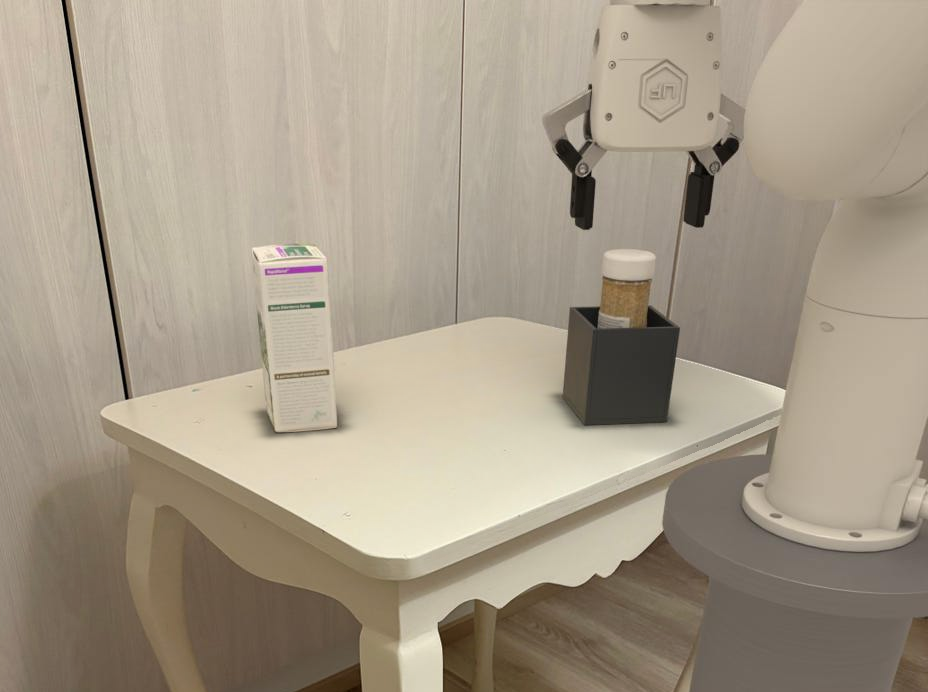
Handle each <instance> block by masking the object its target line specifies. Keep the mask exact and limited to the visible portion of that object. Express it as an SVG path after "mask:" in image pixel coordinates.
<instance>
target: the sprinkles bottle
mask: <svg viewBox="0 0 928 692" xmlns="http://www.w3.org/2000/svg"><path fill="white" fill-rule="evenodd" d="M656 261H657V256H656V255H655V254H654V253H653V252H651V251H647V250H642V249H634V248H615V249H609V250H606V251H605V252H604V253H603V255H602V263H601V275H602V278H601V280H602V285H601V292H600V293H601V295H600V305H599V306H600V310H599V317H598V327H597V329H599V328H640V327H646V325H647V311H648V305H649V304H650V303H649V302H650V293H651V284H652V282H653V278H654V277H655V272H656Z"/></svg>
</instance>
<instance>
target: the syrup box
mask: <svg viewBox="0 0 928 692" xmlns="http://www.w3.org/2000/svg"><path fill="white" fill-rule="evenodd" d="M251 260H252V272H253V283H254V293H255V305H256V306H255V307H256V315H257V323H258V334H259V345H260V356H261V357H260V358H261V367H262V378H263V379H262V380H263V389H264V398H265V408H266V413H267V416H268V418H269V421H270V423H271V425H272V428H273V430H274V432H275V433H297V432H298V433H299V432H310V431H319V430H328V429H329V430H330V429H336V428H338V413H337V410H338V409H337V392H336V391H337V390H336V374H335V358H334V357H335V355H334V341H333V340H334V339H333V324H332V314H331V297H330V284H329V283H330V282H329V267H328V266H329V264H328V258H327V257H326V256H325V255H324V254H323V252H322V251H321V250H320V249H319V248H318V247H317V245H315V244H312V243H311V244H310V243H281V244H270V245H263V246H256V247H255V246H253V247H251Z"/></svg>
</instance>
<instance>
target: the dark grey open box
mask: <svg viewBox="0 0 928 692" xmlns="http://www.w3.org/2000/svg"><path fill="white" fill-rule="evenodd" d="M599 310H600V305H598V306H597V305H596V306H570V307H569V312H568V313H569V314H568V325H567V336H566V337H567V339H566V351H565V364H564V376H563V387H562V399H564V401H565V403H567V405H568V406H569V408H570V409H571V410H572V411H573V412H574V414H575V415H576V416H577V418H578V419H579V420H580V422H581V423H582V424H583V425H584V426H595V425H596V426H597V425H620V424H621V425H622V424H623V425H624V424H626V425H627V424H647V423H651V424H652V423H667V422H668V416H669V410H670V402H671V395H672V390H673V380H674V374H675V368H676V360H677V354H678V353H677V352H678V346H679V341H680V340H679V338H680V332H681V327H680V326H679V325H677V324H676V323H674V321H672V320H671V319H670V318H668V317H667V316H665V315H664V314H663V313H662V312H661V311H659V310H658V309H656V308H655V307H654V306H653V305H649V304H648V311H647V325H646V327H640V328H599V329H597V327H598V317H599Z"/></svg>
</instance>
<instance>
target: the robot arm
mask: <svg viewBox="0 0 928 692" xmlns="http://www.w3.org/2000/svg"><path fill="white" fill-rule="evenodd" d="M722 23H723V22H722V10H721V5H711V0H609V4H608V5H602V6H601V9H600V12H599V17H598V21H597V25H596V29H595V34H594V38H593V44H592V50H591V55H590V59H589V60H590V61H589V68H588V74H587V80H586V88H585V90H584V91H581V92H580V93H579V94H577V95H575V96H573V97H571V98H570V99H568V100H566V101H565V102H563V103H562V104H560V105H558V106H556V107H555V108H553V109H551V110H549V111H548V112H546V113H545V114H543V116H542V118H541V123H542V126H543V128H544V130H545V133H546V136H547V138H548V140H549V143H550V145H551V149H552V151H553V153H554V154H555V156H556V157H557V158H558V159H559V160H560V161H561V162H562V164H563V165H564V166H565V167H566V169H567V171H568V172H569V174H571V186H570V187H571V188H570V202H569V216H570V218H572V219H574V225H575V226H576V227H577V228H578V229H580V230H582V231H590V230H591V229H593V227H594V225H593V224H594V212H595V198H596V184H597V180H596V178H595V177H594V176H592V173H593V169H594V168H595V166H596V165H598V163H599V162H600V160H601V159H602V158H603V156H604V155H605V154H606V153H607V152H608V151H609V152H619V153H651V152H652V153H654V152H659V153H660V152H663V153H664V152H666V153H667V152H685V153H686V154H687V156H688V157H689V159H690V161H691V163H692V164H693V165H694V168H693V171H690V173H689V174H688V176H687V183H686V190H685V191H686V192H685V201H684V210H683V220H682V221H683V222H684V223H685V224H686V225H689V226H691V227H694V228H696V229H698V228H699V229H701V228H704V226H705V222H706V220H705V219H706V217H707V216H709V214H710V212H711V208H712V200H713V191H714V182H715V176H717V175H719V174H720V172H721V171H722V168H723V166H724V165H725V164H727V162H729V160H730V159H732V157H733V156H734V155H735V154H737V152H738V151H739V150H740V149H739V148H740V145H741V142H742V141H743V142H744V143H743V144H744V149H745V155H746V157H747V161H748V163H749V166H750V167H751V169H752V171H753V173H754V174H755V176H756V177H757V178H758V179H759V180H760V182H761V183H762V184H763V185H764V186H765V187H767V188H768V189H770V190H771V191H773V192H774V193H776V194H778V195H780V196H782V197H784V198H788V199H791V200H794V201H795V200H796V201H802V202H836V201H837V202H839V201H840V202H839V204H838V205H837V207H836V209H835V211H834V212H833V214H832V216H831V218H830V219H829V222H828V224H827V226H826V228H825V230H824V231H823V233H822V236H821V238H820V241H819V244H818V246H817V248H816V251H815V255H814V258H813V261H812V263H811V268H810V273H809V278H808V282H807V287H806V291H805V295H804V299H803V304H802V309H801V313H800V319H799V324H798V329H797V333H796V338H795V343H794V347H793V354H792V358H791V363H790V367H789V372H788V377H787V382H786V387H785V393H784V397H783V401H782V407H781V411H780V417H779V422H778V426H777V427H778V428H777V432H776V436H775V442H774V446H773V452H772V454H773V456H772V460H771V465H770V470H769V473H766V474H763V475H761V476H758V477H756V478H754V479H753V480H751V481H750V482H748V484H747V485H746V486H745V488H744V492H743V497H742V508H743V510H744V511H745V513H746V515H747V516H748V517H749V518H750V519H751V520H752V521H753V522H754V523H756V524H757V525H759V526H760V527H761V528H763V529H765V530H767V531H769V532H771V533H773V534H774V535H777V536H779V537H782V538H784V539H787V540H789V541H793V542H796V543H800V544H803V545H806V546H811V547H816V548H821V549H826V550H834V551H842V552H877V551H884V550H890V549H894V548H897V547H901V546H903V545H905V544H907V543H909V542H911V541H912V540H913V539H914V538H915V537H916V536H917V535H918V533H919V530H920V527H921V524H922V519H926V520H928V484H926V482H928V481H927V480H928V479H925V478H921V477H920V474H921V470H922V467H923V463H924V461H923V460H919V459H917V456H918V452H919V449H920V445H921V443H922V439H923V435H924V431H925V428H926V424H927V421H928V0H802V2H800V4H799V5H798V7H797V8H796V10H795V11H794V13H793V14H792V15H791V17H790V18H789V20H788V21H787V22H786V24H785V25H784V26H783V28H782V29H781V30H780V32H779V34H778V35H777V37H776V38H775V40H774V41H773V43H772V44H771V46H770V48H769V49H768V51H767V52H766V54H765V56H764V58H763V60H762V62H761V64H760V66H759V68H758V70H757V72H756V74H755V77H754V79H753V82H752V85H751V86H750V91H749V94H748V97H747V101H746V106H745V108H744V107H742V105H740V104H738V103H737V102H735V101H733V100H732V99H730V98H729V97H728V96H726V95H724V94H723V93H722V79H723V78H722V75H723V28H722V27H723V24H722ZM581 115H583V117H582V118H583V119H582V134H583V139H584V141H583V143H582V144H581V145H580V147H579V148H578V149H576V148H575V147H574V145H573V144H572V143H571V141H569V138H568V135H567V132H566V127H567V124H568V123H569V122H571V121H573V120H574V119H576V118H579V116H581ZM720 118H722V119H723V120H725V121H726V122H727V127H726V130H725V132H724V135H723V137H721V138H720V139H719V140H718V141H717V142H716V143H715V144H714V145H713V146H712V144H713V143H714V142H715V140H716V138H717V135H718V134H717V133H718V127H719V121H720Z"/></svg>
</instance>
